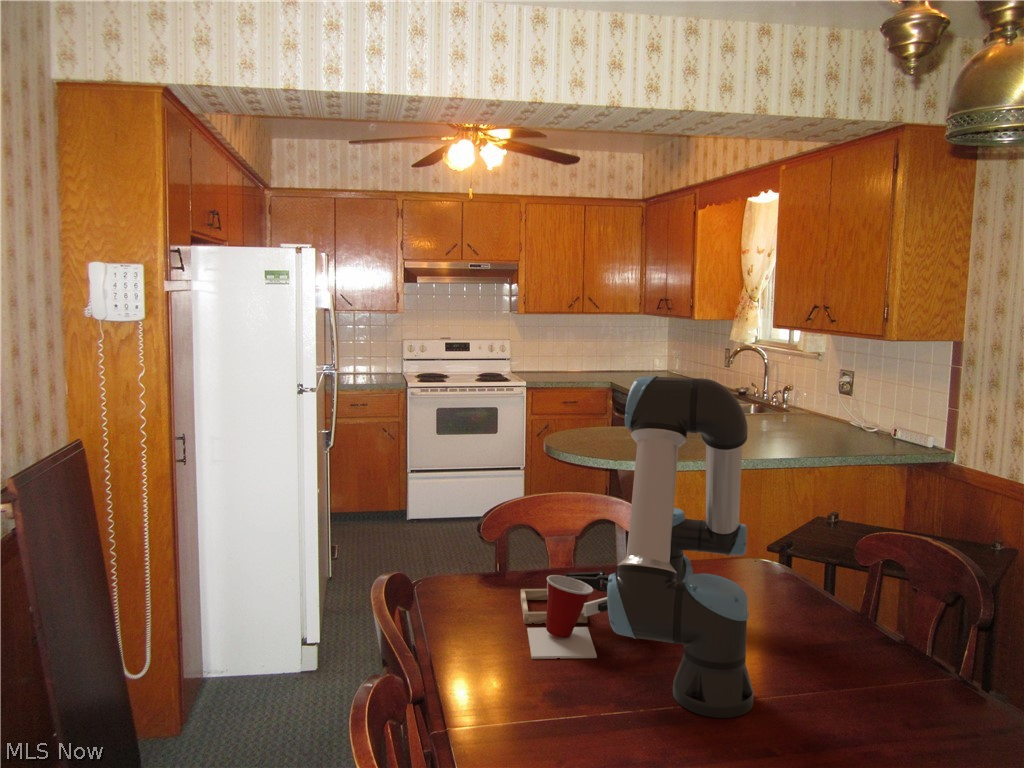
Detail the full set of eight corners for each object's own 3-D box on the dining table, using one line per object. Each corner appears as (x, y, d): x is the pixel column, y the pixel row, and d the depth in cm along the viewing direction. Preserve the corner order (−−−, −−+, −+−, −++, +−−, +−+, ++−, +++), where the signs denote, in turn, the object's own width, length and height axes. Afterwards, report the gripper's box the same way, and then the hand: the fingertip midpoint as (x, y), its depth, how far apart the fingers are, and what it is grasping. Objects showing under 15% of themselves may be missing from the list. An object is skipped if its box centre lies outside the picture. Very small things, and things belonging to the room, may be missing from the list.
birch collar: (587, 622, 185) (587, 612, 184) (524, 623, 184) (524, 613, 184) (579, 597, 200) (579, 588, 199) (520, 598, 199) (520, 589, 199)
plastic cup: (582, 628, 182) (594, 580, 181) (580, 647, 171) (593, 596, 170) (537, 616, 183) (548, 568, 182) (532, 634, 172) (545, 583, 171)
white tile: (596, 657, 167) (596, 655, 167) (531, 658, 167) (531, 656, 167) (587, 629, 181) (587, 626, 181) (527, 630, 181) (527, 627, 181)
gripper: (674, 613, 175) (601, 636, 164) (603, 578, 196) (533, 596, 185) (675, 581, 175) (602, 602, 163) (603, 550, 195) (534, 566, 184)
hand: (565, 599), depth 174 cm, fingers open, 13 cm apart
